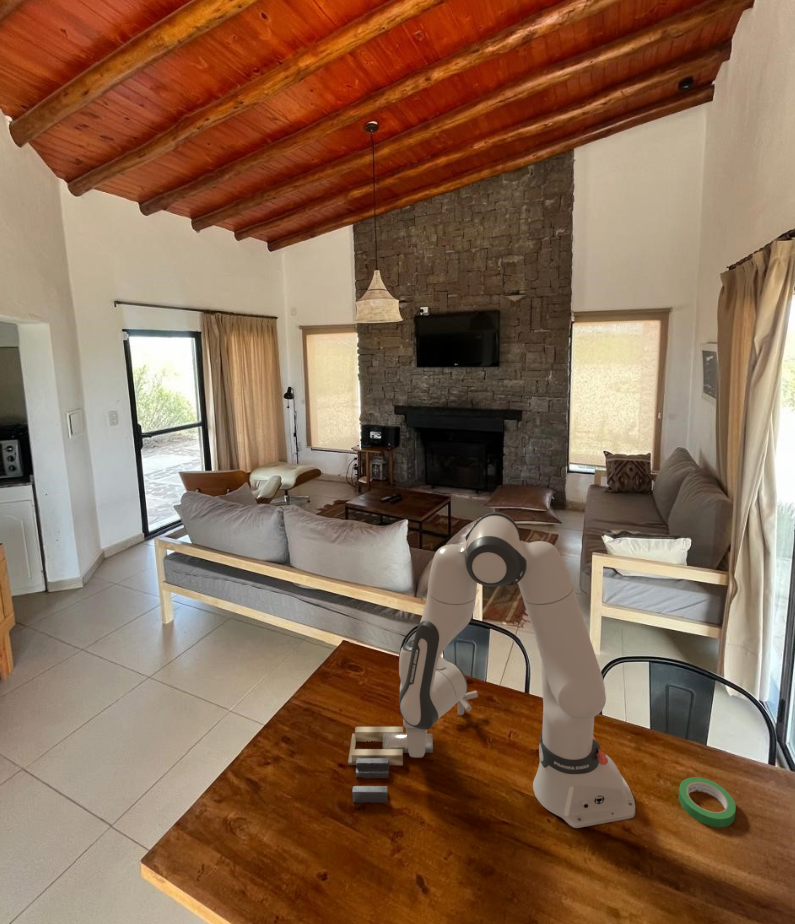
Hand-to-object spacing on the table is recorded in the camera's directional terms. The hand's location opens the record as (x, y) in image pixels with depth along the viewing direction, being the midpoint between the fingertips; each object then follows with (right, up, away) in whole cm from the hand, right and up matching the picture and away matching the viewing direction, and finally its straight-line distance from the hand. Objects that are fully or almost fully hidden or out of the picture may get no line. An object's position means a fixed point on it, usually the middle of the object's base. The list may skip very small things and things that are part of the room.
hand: (418, 744), depth 136 cm
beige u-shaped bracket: (-10, -2, +1) cm, 11 cm away
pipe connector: (+13, +1, +14) cm, 19 cm away
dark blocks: (-12, -4, -10) cm, 16 cm away
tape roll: (+65, -5, -18) cm, 68 cm away
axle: (-3, 0, 0) cm, 3 cm away
